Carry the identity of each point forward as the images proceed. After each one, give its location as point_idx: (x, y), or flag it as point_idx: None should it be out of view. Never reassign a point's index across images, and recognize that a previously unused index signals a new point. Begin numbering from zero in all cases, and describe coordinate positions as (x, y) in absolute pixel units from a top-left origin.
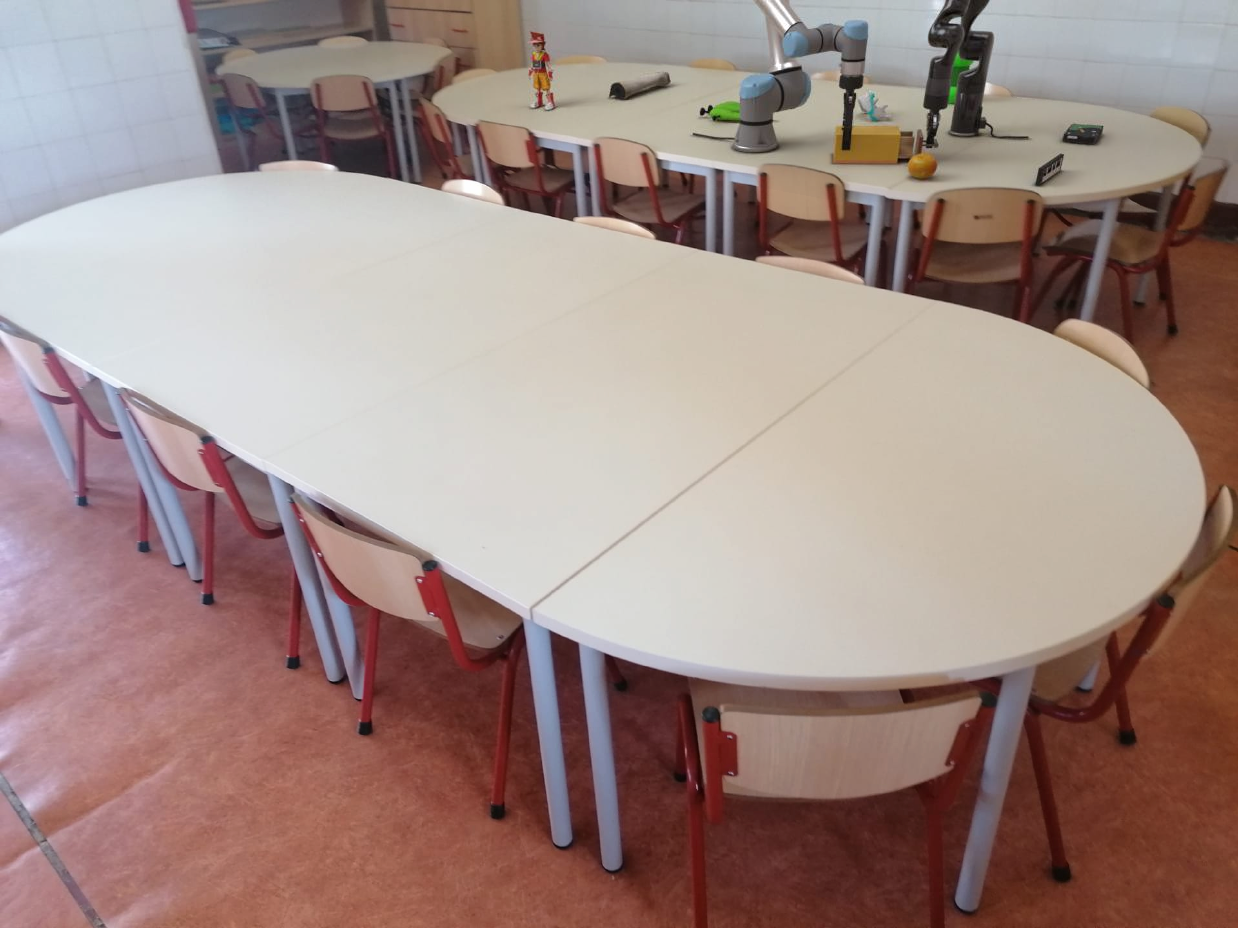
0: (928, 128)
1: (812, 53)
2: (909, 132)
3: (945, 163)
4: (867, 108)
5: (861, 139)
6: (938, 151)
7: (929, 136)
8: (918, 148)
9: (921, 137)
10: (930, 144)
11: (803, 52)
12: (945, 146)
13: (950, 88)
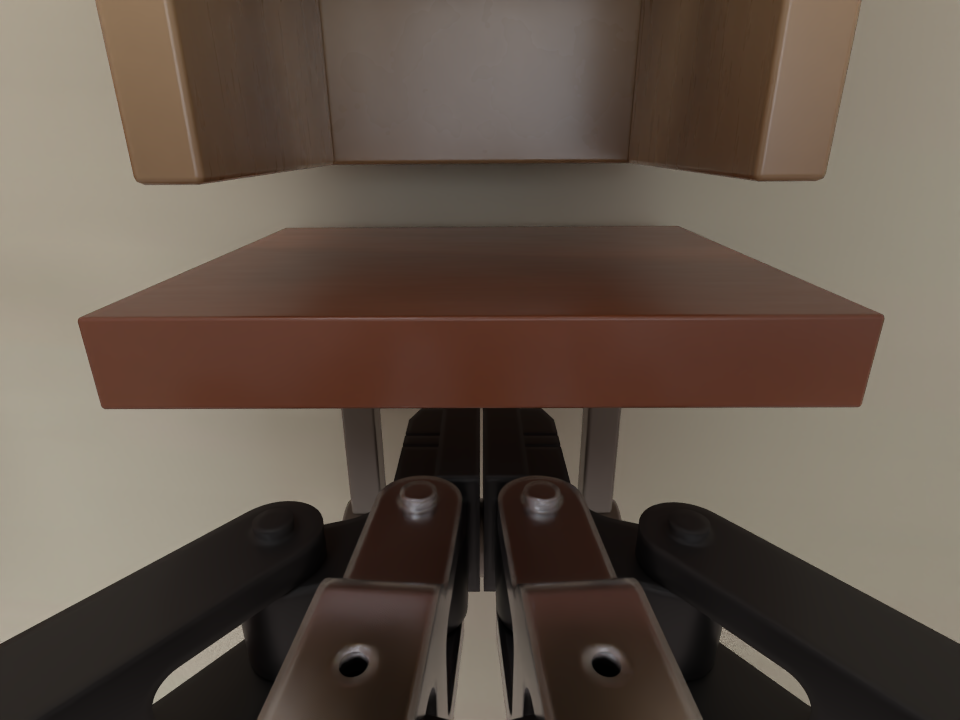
0: (328, 629)
1: None
2: (770, 67)
3: (339, 520)
4: None
5: None
6: (779, 495)
7: (360, 525)
8: (215, 262)
9: (90, 359)
10: (353, 471)
11: None
12: (947, 569)
13: None
